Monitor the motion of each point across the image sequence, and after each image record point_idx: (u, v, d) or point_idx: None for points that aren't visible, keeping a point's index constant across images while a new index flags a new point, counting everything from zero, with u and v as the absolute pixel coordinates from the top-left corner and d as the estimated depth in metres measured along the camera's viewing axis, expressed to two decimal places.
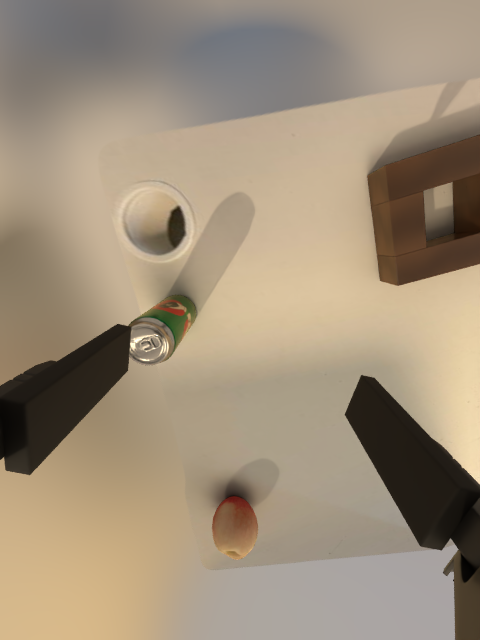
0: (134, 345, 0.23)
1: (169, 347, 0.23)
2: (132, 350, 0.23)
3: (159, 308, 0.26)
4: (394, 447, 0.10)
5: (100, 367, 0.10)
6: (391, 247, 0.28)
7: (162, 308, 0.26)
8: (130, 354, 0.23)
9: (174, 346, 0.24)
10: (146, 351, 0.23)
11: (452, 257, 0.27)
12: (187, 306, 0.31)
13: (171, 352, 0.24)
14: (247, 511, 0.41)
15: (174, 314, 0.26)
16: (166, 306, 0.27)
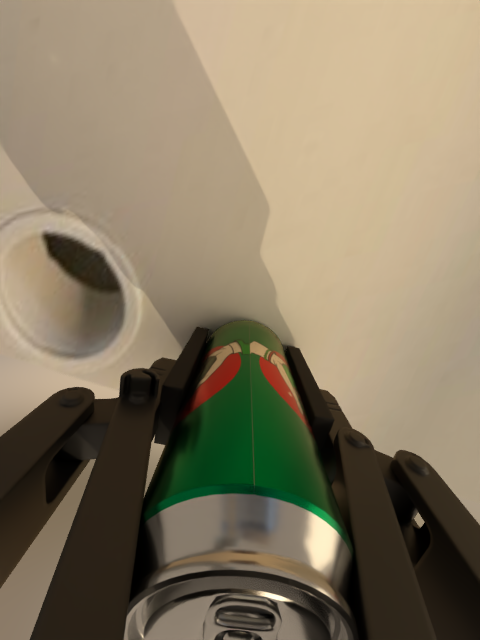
0: None
1: (315, 564, 0.04)
2: None
3: (175, 423, 0.08)
4: None
5: (197, 363, 0.13)
6: None
7: (181, 414, 0.08)
8: None
9: (322, 517, 0.05)
10: None
11: None
12: (235, 335, 0.12)
13: (340, 545, 0.05)
14: None
15: (216, 395, 0.07)
16: (189, 395, 0.09)
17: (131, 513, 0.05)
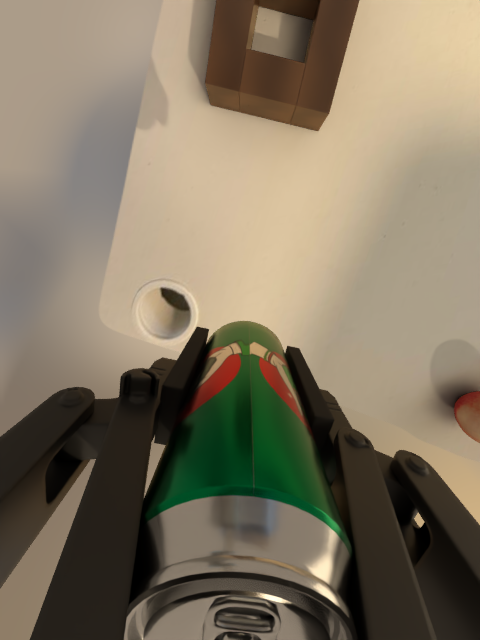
0: None
1: (314, 566, 0.04)
2: None
3: (175, 424, 0.08)
4: None
5: (197, 363, 0.13)
6: (286, 105, 0.25)
7: (181, 415, 0.08)
8: None
9: (322, 519, 0.05)
10: None
11: (333, 32, 0.23)
12: (235, 336, 0.12)
13: (340, 546, 0.05)
14: None
15: (216, 396, 0.07)
16: (189, 396, 0.09)
17: (131, 513, 0.05)
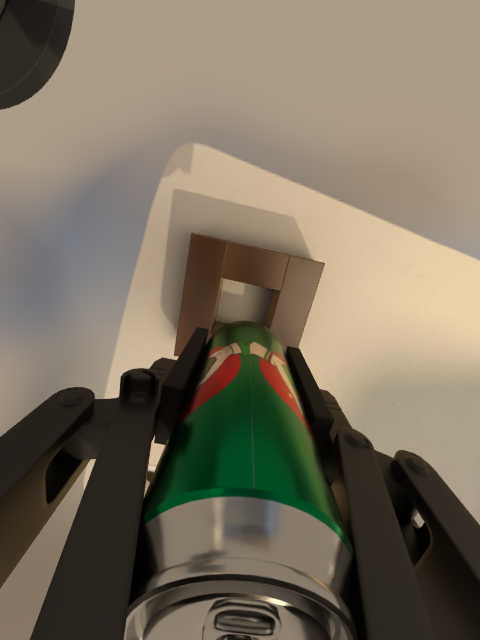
0: None
1: (315, 568, 0.04)
2: None
3: (174, 424, 0.08)
4: None
5: (197, 363, 0.13)
6: None
7: (181, 415, 0.08)
8: None
9: (322, 520, 0.05)
10: None
11: (289, 325, 0.25)
12: (235, 336, 0.12)
13: (341, 548, 0.05)
14: None
15: (216, 396, 0.07)
16: (189, 396, 0.09)
17: (131, 513, 0.05)
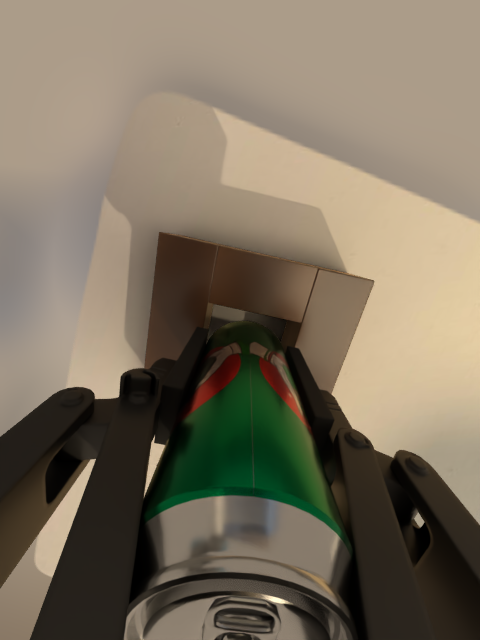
0: None
1: (315, 567, 0.04)
2: None
3: (175, 424, 0.08)
4: None
5: (197, 363, 0.13)
6: None
7: (181, 415, 0.08)
8: None
9: (322, 519, 0.05)
10: None
11: (314, 374, 0.16)
12: (235, 336, 0.12)
13: (340, 547, 0.05)
14: None
15: (216, 396, 0.07)
16: (189, 396, 0.09)
17: (131, 513, 0.05)
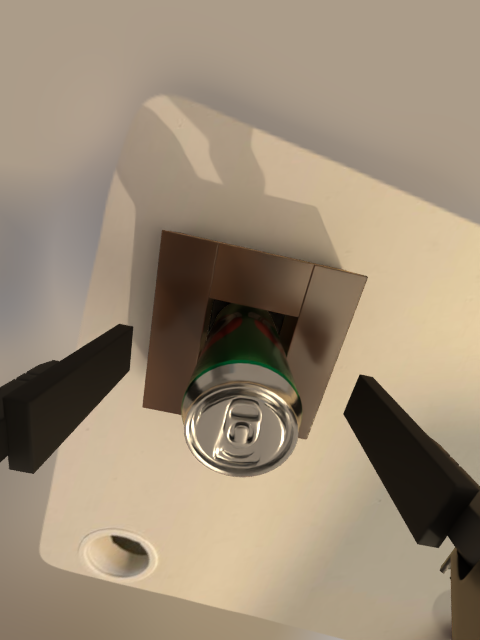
0: (228, 452, 0.10)
1: (277, 390, 0.09)
2: (237, 463, 0.10)
3: (201, 354, 0.13)
4: (392, 446, 0.10)
5: (102, 367, 0.11)
6: None
7: (205, 348, 0.13)
8: (243, 472, 0.10)
9: (283, 377, 0.09)
10: (256, 441, 0.09)
11: (310, 366, 0.17)
12: (237, 308, 0.17)
13: (292, 391, 0.09)
14: None
15: (227, 335, 0.12)
16: (208, 340, 0.13)
17: None
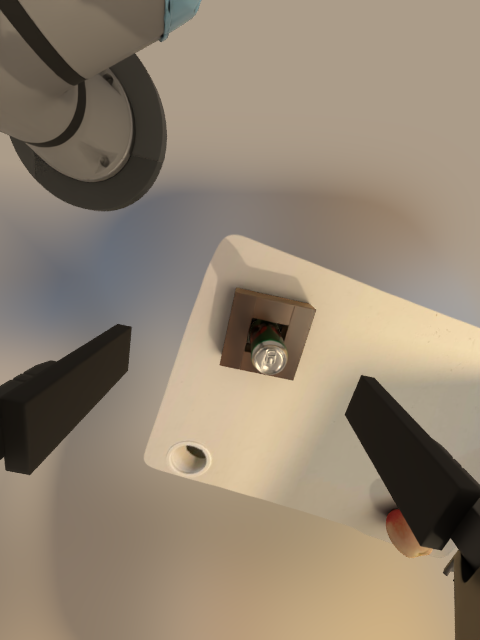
0: (266, 367, 0.32)
1: (280, 348, 0.32)
2: (268, 370, 0.32)
3: (253, 339, 0.35)
4: (394, 447, 0.10)
5: (100, 367, 0.10)
6: None
7: (254, 337, 0.35)
8: (270, 373, 0.32)
9: (282, 344, 0.32)
10: (274, 363, 0.32)
11: (294, 346, 0.40)
12: (263, 321, 0.40)
13: (285, 349, 0.32)
14: (401, 520, 0.51)
15: (262, 332, 0.35)
16: (254, 334, 0.36)
17: None
